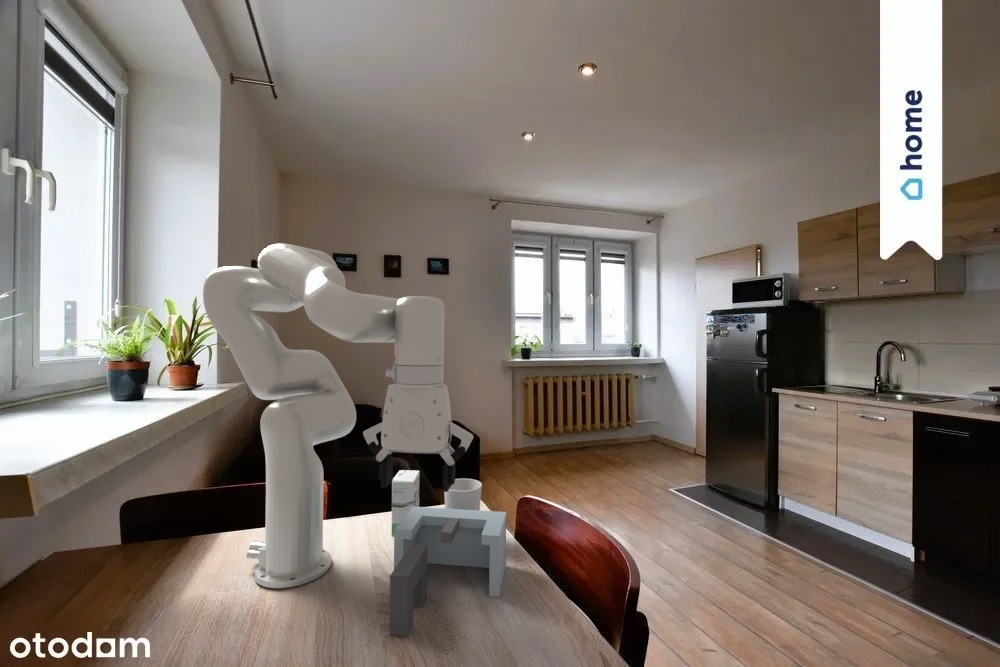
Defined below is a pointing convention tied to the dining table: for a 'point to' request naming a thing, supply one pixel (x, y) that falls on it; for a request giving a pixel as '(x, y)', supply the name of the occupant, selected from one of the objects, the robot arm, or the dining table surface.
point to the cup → (464, 495)
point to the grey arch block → (407, 589)
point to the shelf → (456, 539)
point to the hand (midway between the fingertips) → (416, 486)
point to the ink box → (404, 495)
